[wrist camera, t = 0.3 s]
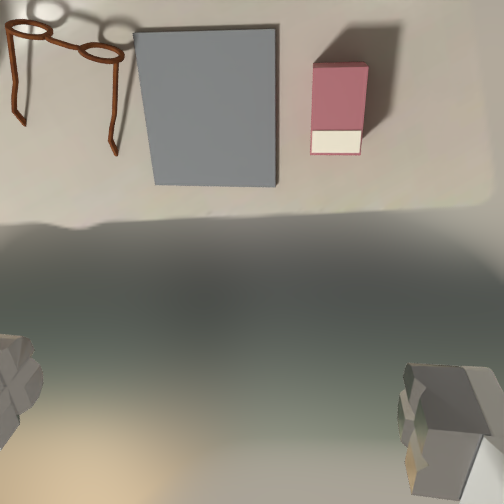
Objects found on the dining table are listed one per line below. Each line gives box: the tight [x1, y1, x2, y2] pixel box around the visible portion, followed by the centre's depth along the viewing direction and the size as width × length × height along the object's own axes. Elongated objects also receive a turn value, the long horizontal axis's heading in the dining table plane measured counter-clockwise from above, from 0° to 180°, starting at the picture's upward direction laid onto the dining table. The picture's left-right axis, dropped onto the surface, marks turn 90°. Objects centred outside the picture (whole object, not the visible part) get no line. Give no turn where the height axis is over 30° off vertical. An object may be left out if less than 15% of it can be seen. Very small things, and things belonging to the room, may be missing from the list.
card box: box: [310, 62, 369, 155], centre depth 47 cm, size 9×6×5 cm, turn 2°
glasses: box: [5, 19, 125, 156], centre depth 51 cm, size 13×13×5 cm
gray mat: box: [133, 29, 276, 187], centre depth 52 cm, size 18×16×1 cm
